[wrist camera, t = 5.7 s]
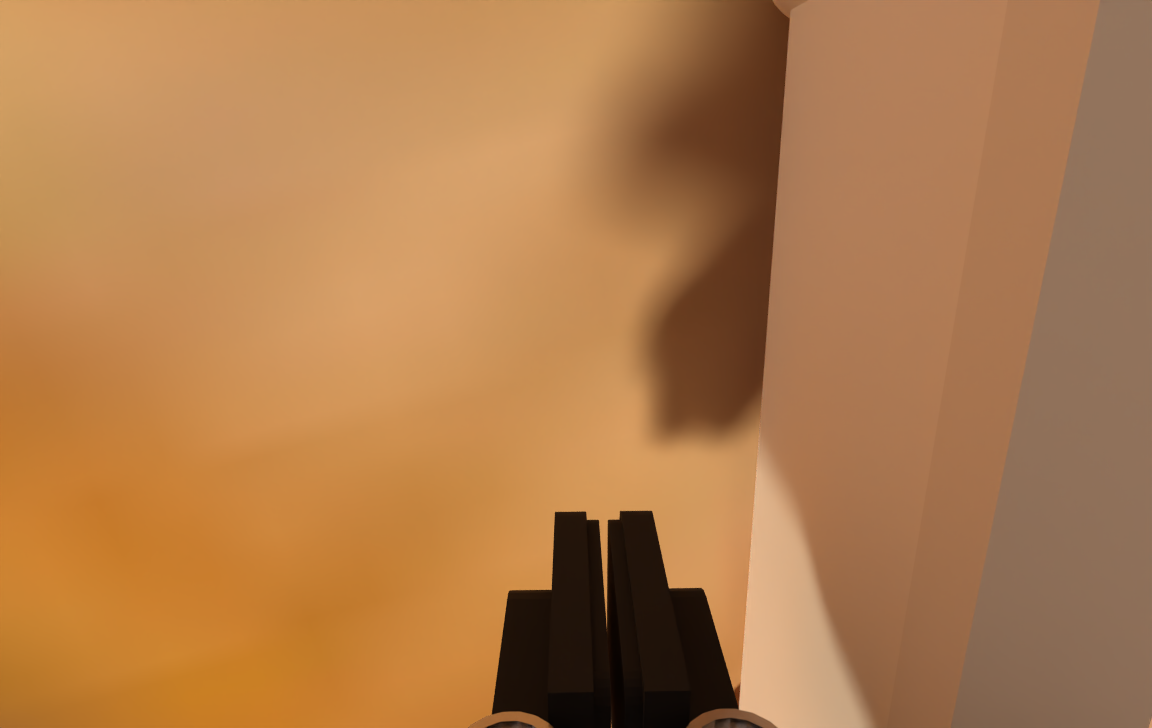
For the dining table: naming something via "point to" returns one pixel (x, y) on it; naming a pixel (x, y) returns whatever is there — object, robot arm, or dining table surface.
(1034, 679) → the gate leaf
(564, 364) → the dining table surface
